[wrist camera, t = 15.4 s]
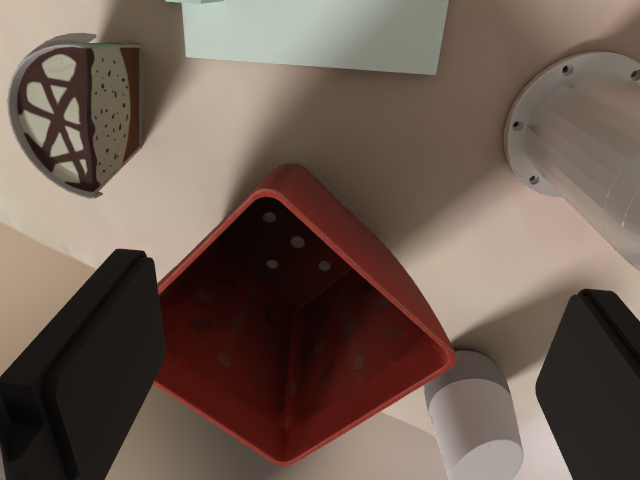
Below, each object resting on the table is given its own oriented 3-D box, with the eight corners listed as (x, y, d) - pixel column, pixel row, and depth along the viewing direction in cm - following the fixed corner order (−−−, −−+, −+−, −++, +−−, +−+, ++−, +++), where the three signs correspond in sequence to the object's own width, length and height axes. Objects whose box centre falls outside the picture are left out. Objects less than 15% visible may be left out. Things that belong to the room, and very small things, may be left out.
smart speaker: (496, 397, 57) (536, 510, 45) (421, 400, 58) (439, 510, 46) (502, 339, 52) (547, 446, 40) (420, 342, 54) (440, 448, 41)
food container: (69, 9, 38) (-14, 16, 30) (142, 25, 39) (80, 37, 30) (78, 149, 44) (11, 189, 36) (141, 162, 45) (90, 205, 36)
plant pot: (430, 246, 47) (465, 364, 33) (301, 341, 55) (283, 472, 40) (297, 111, 41) (266, 181, 27) (173, 237, 49) (95, 346, 34)
